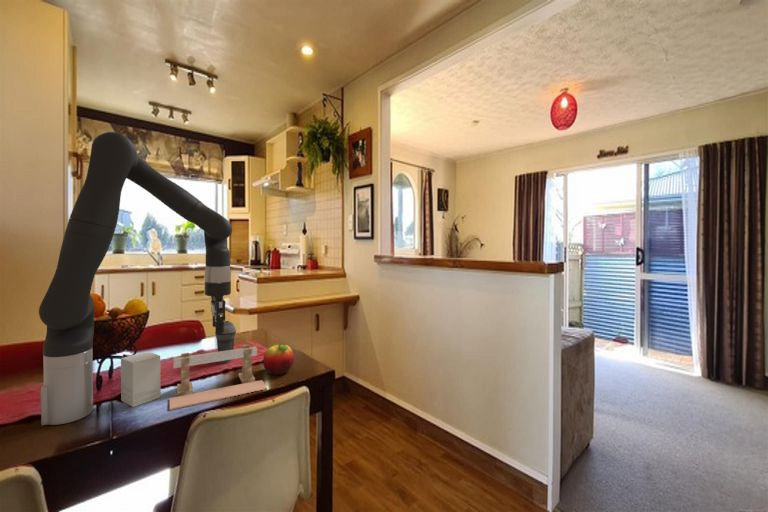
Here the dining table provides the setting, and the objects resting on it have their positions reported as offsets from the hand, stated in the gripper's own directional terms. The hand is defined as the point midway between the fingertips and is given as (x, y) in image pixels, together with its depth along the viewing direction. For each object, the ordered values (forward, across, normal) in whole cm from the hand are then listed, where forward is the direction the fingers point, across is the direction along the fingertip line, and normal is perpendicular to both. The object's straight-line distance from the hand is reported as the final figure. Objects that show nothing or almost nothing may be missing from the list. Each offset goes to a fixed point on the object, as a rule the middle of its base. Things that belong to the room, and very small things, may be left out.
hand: (217, 329), depth 106 cm
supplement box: (+18, 0, -20) cm, 27 cm away
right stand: (+18, 0, +9) cm, 20 cm away
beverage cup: (+18, -20, +5) cm, 28 cm away
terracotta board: (+18, +8, 0) cm, 20 cm away
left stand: (+18, 0, -9) cm, 20 cm away
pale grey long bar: (+10, 0, 0) cm, 10 cm away
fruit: (+18, -1, +20) cm, 27 cm away
